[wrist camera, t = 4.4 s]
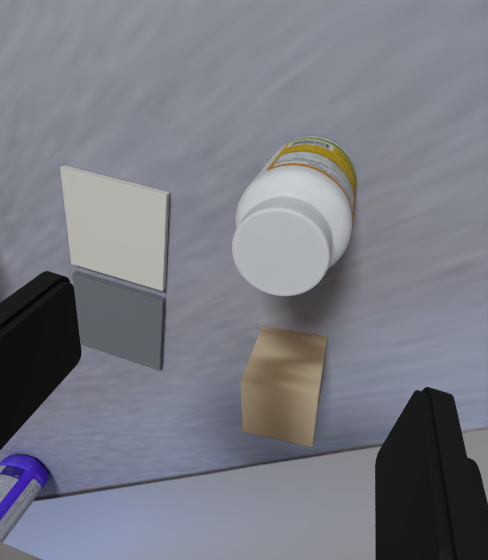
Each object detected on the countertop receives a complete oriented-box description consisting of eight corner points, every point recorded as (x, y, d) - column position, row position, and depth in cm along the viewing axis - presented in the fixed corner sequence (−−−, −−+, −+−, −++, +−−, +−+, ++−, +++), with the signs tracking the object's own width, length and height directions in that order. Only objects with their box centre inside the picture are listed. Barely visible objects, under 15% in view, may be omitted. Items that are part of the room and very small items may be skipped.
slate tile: (165, 297, 32) (162, 301, 31) (161, 366, 36) (159, 370, 36) (76, 270, 33) (72, 273, 32) (84, 340, 37) (81, 344, 37)
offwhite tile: (169, 192, 27) (166, 194, 26) (165, 287, 31) (162, 291, 31) (64, 165, 28) (60, 167, 27) (75, 260, 32) (71, 263, 32)
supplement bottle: (300, 237, 26) (268, 329, 18) (249, 171, 24) (189, 238, 16) (375, 191, 23) (376, 275, 15) (322, 113, 21) (292, 160, 14)
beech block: (327, 336, 29) (318, 396, 24) (321, 383, 32) (312, 447, 27) (262, 325, 30) (240, 381, 26) (261, 372, 33) (242, 431, 28)
